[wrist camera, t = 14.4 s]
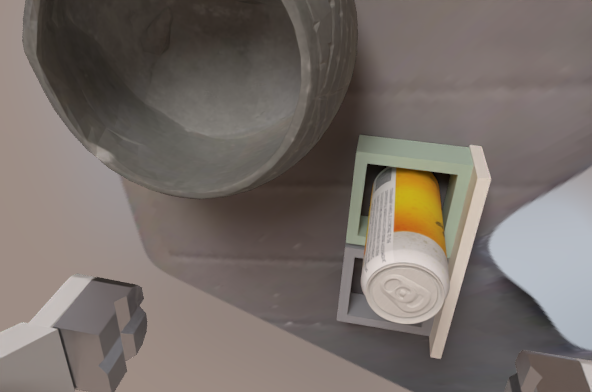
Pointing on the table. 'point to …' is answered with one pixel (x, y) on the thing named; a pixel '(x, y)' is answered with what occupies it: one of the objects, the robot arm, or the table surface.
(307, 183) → the table surface
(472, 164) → the holder board
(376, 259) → the beer can
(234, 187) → the bowl
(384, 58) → the table surface
